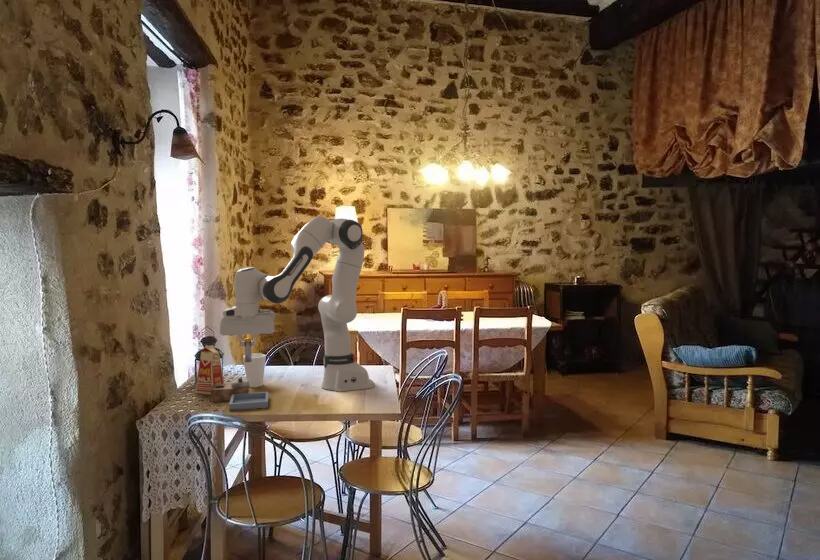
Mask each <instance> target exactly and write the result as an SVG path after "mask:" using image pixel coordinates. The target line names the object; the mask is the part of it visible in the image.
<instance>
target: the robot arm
mask: <svg viewBox="0 0 820 560" xmlns="http://www.w3.org/2000/svg"><path fill="white" fill-rule="evenodd" d="M363 233H364V231H363V228H362V225H361V223H359V222H357V221H356V220H353V219H347V218H329V219H328V217H327V218H326V217H325V216H322V215H317V216H315V217H313V218H311V220H309V221H308V222H307V223H306V224H305V225H303V227H302V228H301V229H300V230H299V231H298V232H297V233H296V234H295V235H294V237H293V239H292V241H291V243H290V248H291V251H292V253H293V256H292V258H291V259H290V261H289V262H288V264H287V265H286V267H284V269H283V270H282V272H281V273H279V274H277V275H271V274H267V273H264V272H262V271H260V270H258V269H257V268H256V267H253V266H251V267H250V266H247V267H243V268H239V269H238V270H236V272H235V274H234V280H233V281H234V284H233V285H234V286H233V291H234V295H235V300H234V305H233V306H230V307H227V308H225V309H224V310H223V311H222V318H221V319H220V324H219V334H220V335H221V336H237V339H238V341H239V342H240V347H245V340H243V339H242V336H243V335H253V337H254V338H253V340H251V347H255V346H256V340H257V339H258V336H259V335H263V334H268V335H270V334H273V333H274V332H275V319H276V313H275V311H274V310H271V308H270V309H260V307H259V305H260V304H259V303H260V302H259V300H260V299H263V300H266V301H268V302H271V303H273V304H282V303H284V302H286V301H287V300H289V297H290V296H291V294H292V292H293V288H294V285H295V284H296V283H297V281H298V279H299V278H300V277H301V276H302V274H303V273H304V271H305V270H306V269H307V268H308V266H309V264H310V263H311V261H312V260H313V258H314V257H315V256H316V255H317V253H318V252H319V251H320V250H321V249H322V247H323V246H324V245H325V244H326V243H328V244H333V245H336V246H338V249H339V250H338V256H337V259H336V263H335V266H334V270H333V273H332V277H331V283H332V289H331V290H332V291H331V294H328V295H325V296H323V297H321V299H320V300H319V301H318V306H317V309H318V312H319V314H320V319H321V325H322V330H323V336H324V338H323V339H324V354H323V367H324V369H323V370H324V371H323V379H322V384H321V388H322V389H325V390H329V391H335V392H340V393H341V392H350V391H357V390H366V389H372V388H374V387H375V382H374V381H373V380H372V379H370V376H369V373H368V370H367V369H366V368H365V367H364V366H362V365H361V364H360V363H358V362H356V361H357V360H358V356H357V355H356V354H354V353H353V352H351V351H352V349H351V346H352V345H351V333H350V330H349V328H348V324H349V323H351V322H354V320H355V319H356V317H357V315H358V307H357V288H358V283H359V279H360V274H361V272H362V267H363V263H364V258H365V246H364V244H363V243H362V242H363V235H364V234H363Z"/></svg>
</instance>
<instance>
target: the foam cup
mask: <svg viewBox="0 0 820 560" xmlns="http://www.w3.org/2000/svg"><path fill="white" fill-rule="evenodd" d="M266 358H267V357H266V354H263V353H252V362H245V354H244V355H243V356H242V362H243V367H244V372H245V380H249V386H250V387H249V388H259V387H258V386H260V387H262V386H263V383H264V378H265V377H264V376H265V367H266V360H267V359H266ZM261 385H262V386H261Z"/></svg>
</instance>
